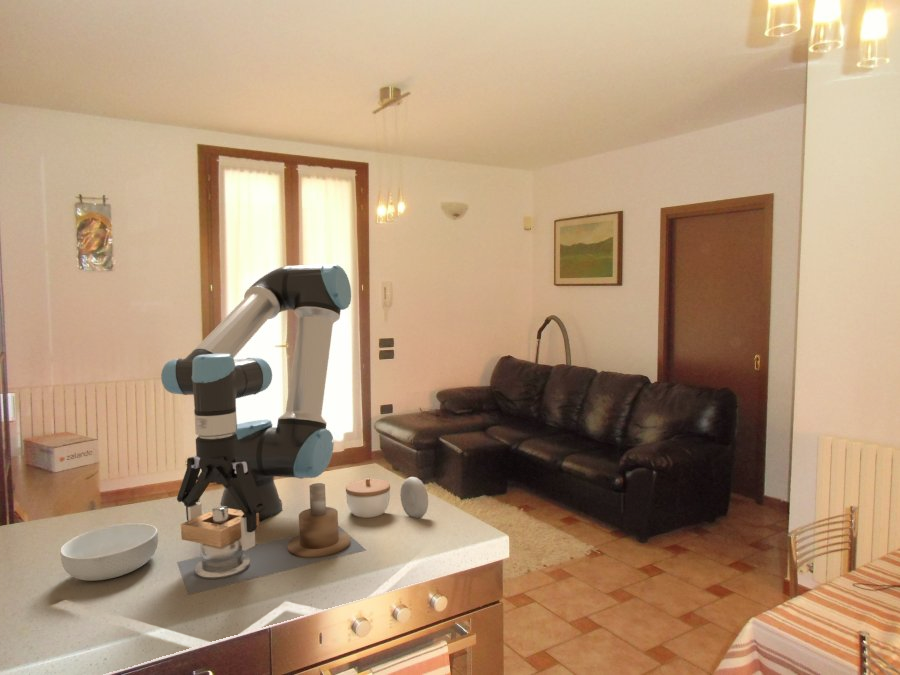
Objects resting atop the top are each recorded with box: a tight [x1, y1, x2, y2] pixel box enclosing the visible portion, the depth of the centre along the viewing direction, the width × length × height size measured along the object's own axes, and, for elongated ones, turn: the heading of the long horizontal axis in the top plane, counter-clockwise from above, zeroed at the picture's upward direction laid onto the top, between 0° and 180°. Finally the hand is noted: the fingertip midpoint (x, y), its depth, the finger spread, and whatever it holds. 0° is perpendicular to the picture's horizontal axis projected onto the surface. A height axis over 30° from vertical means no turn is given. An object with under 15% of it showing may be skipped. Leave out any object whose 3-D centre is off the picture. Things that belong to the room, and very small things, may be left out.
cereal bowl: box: [59, 522, 159, 582], centre depth 119 cm, size 17×17×7 cm
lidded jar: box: [345, 477, 391, 519], centre depth 146 cm, size 11×11×9 cm
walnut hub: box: [288, 482, 351, 558], centre depth 127 cm, size 13×13×13 cm
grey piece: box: [399, 476, 429, 519], centre depth 145 cm, size 10×3×10 cm, turn 34°
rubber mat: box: [176, 525, 367, 595], centre depth 122 cm, size 34×16×1 cm, turn 121°
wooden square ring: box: [180, 508, 260, 547], centre depth 117 cm, size 10×10×3 cm
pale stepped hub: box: [195, 505, 250, 580], centre depth 117 cm, size 10×10×12 cm
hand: (221, 542), depth 117 cm, fingers open, 13 cm apart
